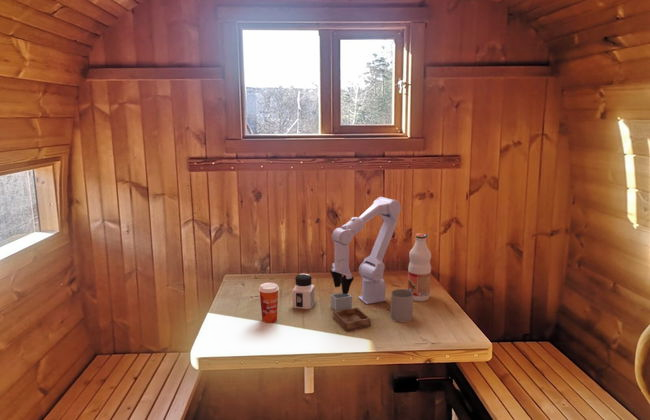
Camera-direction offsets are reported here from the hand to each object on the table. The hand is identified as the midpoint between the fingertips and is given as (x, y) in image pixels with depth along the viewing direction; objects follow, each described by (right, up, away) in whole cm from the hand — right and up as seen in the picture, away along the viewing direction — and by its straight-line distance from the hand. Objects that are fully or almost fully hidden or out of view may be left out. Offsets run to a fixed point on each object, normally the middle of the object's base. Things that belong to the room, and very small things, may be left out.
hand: (341, 290), depth 201 cm
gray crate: (0, -8, +2) cm, 8 cm away
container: (-15, -7, +5) cm, 18 cm away
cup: (+23, -10, -7) cm, 26 cm away
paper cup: (-28, -10, -9) cm, 31 cm away
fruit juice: (+33, -5, +12) cm, 36 cm away
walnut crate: (+4, -11, -11) cm, 16 cm away
